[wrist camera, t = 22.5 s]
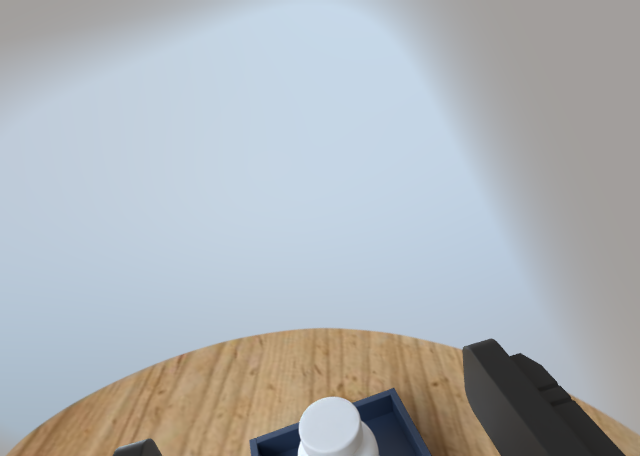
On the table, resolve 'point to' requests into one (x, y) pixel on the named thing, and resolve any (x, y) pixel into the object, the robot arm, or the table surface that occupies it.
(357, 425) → the pill bottle
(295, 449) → the blue tray
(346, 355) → the table surface
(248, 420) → the table surface
